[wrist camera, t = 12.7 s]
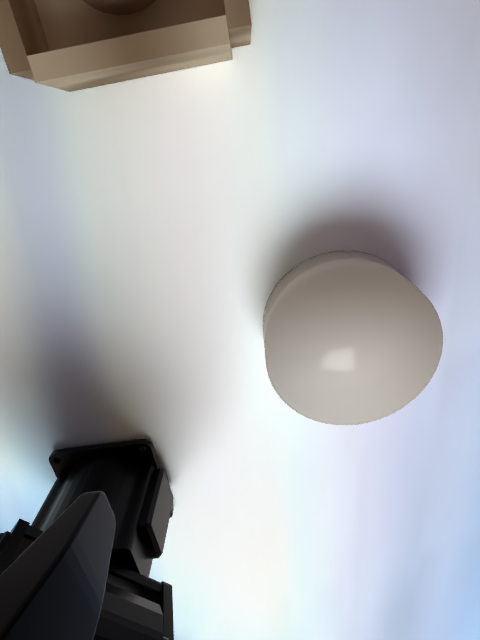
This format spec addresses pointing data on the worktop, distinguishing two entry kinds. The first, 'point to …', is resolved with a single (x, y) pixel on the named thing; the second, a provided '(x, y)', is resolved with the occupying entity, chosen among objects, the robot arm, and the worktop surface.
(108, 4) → the brown dome-top cylinder
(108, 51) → the tray
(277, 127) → the worktop surface
